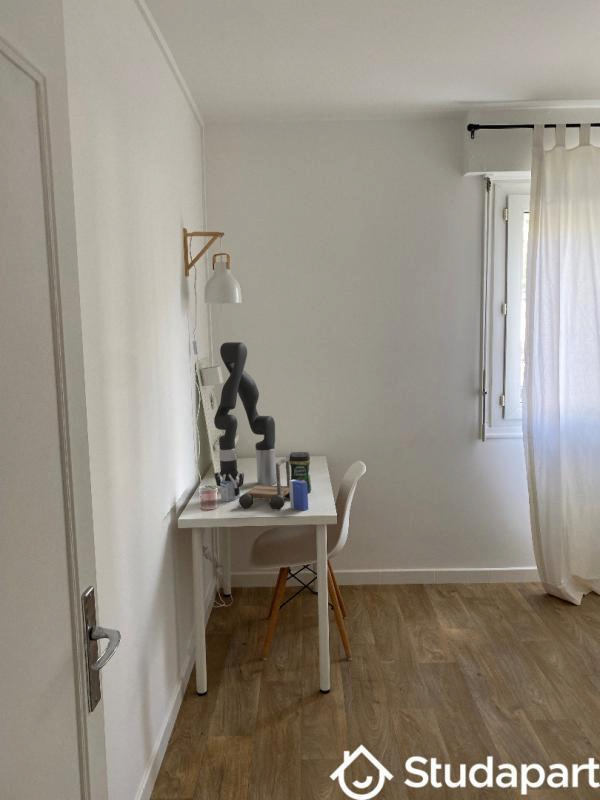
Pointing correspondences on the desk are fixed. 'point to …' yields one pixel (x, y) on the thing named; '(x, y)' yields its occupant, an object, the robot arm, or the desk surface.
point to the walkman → (298, 494)
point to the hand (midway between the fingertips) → (230, 495)
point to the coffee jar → (300, 467)
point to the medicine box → (228, 491)
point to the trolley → (269, 490)
